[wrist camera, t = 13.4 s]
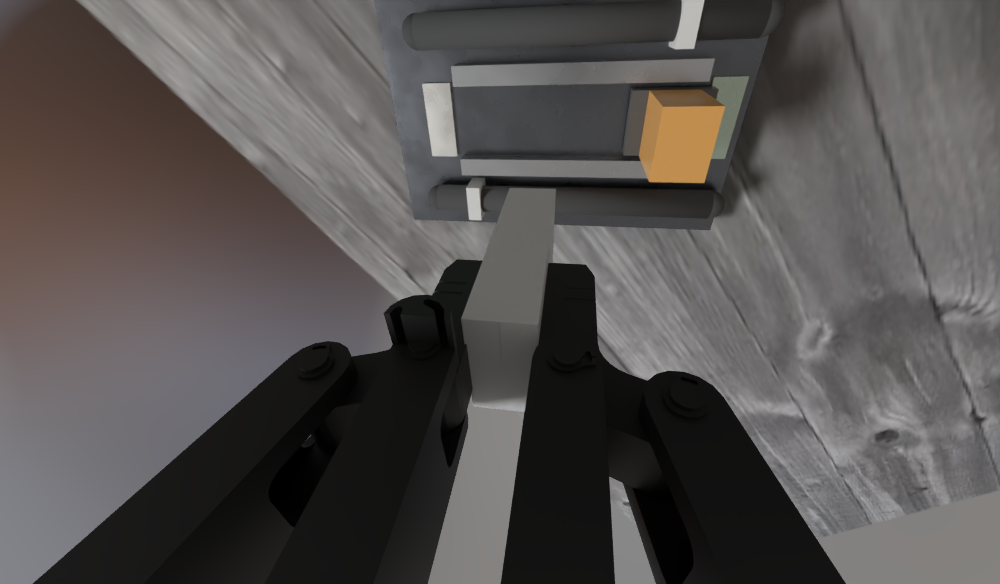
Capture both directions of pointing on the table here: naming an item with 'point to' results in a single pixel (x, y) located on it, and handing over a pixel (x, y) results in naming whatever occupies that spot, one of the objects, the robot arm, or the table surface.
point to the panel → (548, 110)
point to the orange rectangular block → (673, 131)
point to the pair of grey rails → (664, 18)
